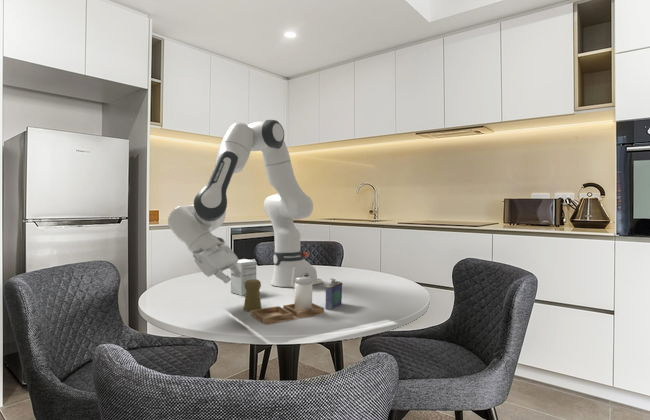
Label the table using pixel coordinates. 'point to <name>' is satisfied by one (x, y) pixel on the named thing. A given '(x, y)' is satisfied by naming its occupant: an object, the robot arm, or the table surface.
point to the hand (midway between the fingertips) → (234, 278)
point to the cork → (252, 295)
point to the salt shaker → (303, 293)
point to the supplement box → (243, 276)
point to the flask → (333, 294)
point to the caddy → (284, 313)
